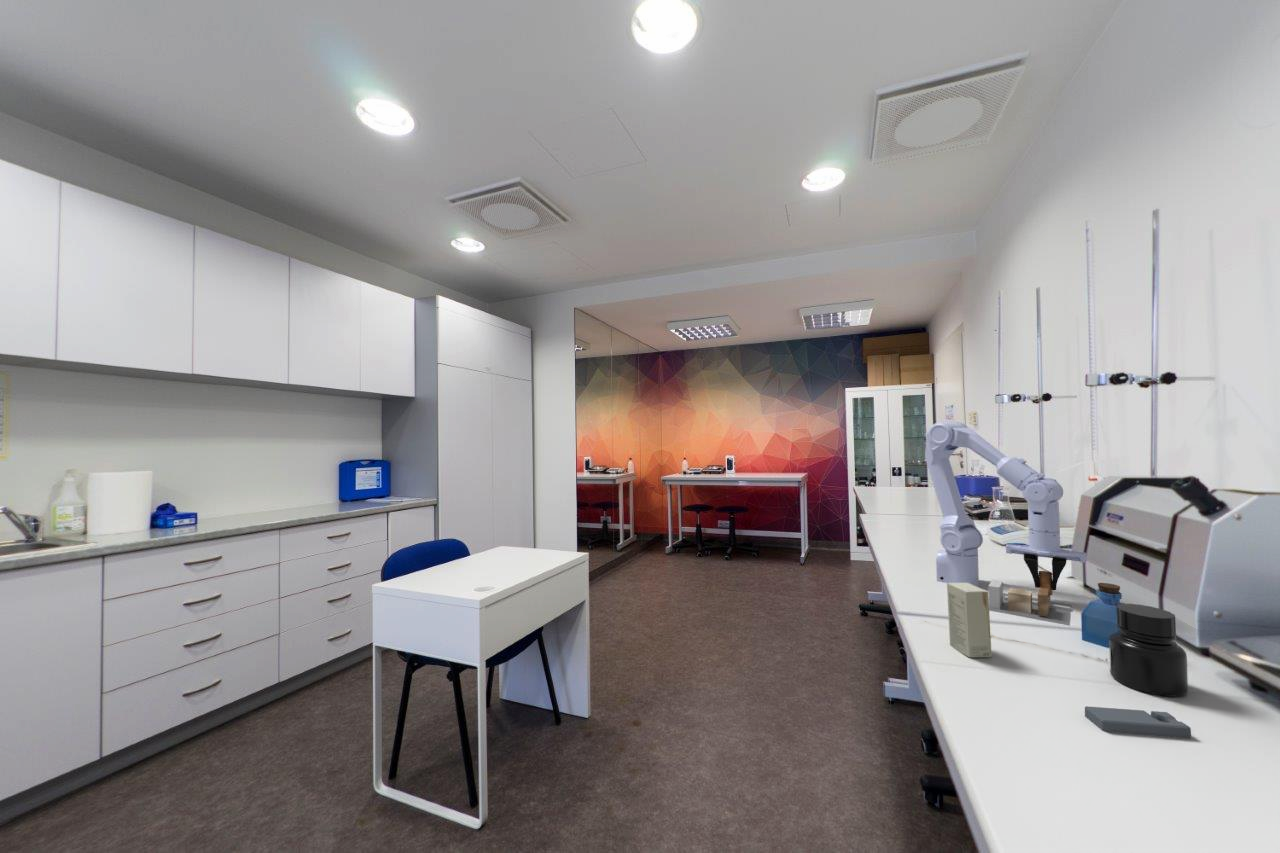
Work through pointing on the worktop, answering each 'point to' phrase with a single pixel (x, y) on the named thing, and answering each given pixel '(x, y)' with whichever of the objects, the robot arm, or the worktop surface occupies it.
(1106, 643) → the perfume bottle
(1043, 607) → the press jaw
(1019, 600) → the birch cube
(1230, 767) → the worktop surface
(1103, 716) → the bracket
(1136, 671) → the ink bottle
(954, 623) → the skincare box
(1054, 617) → the press base
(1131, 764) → the worktop surface
